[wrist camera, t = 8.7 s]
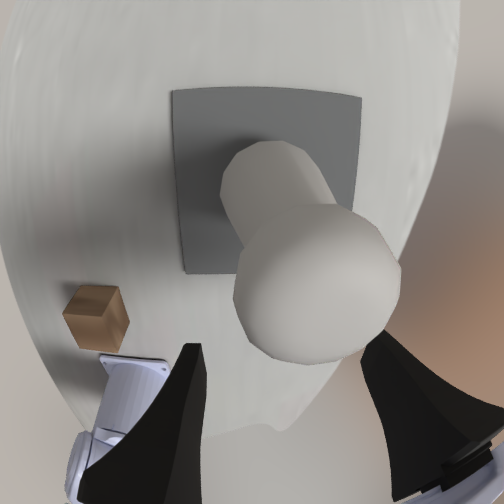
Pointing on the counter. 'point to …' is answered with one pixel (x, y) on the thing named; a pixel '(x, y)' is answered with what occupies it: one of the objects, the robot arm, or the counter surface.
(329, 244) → the salt shaker
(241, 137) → the rubber mat
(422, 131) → the counter surface
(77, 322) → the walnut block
